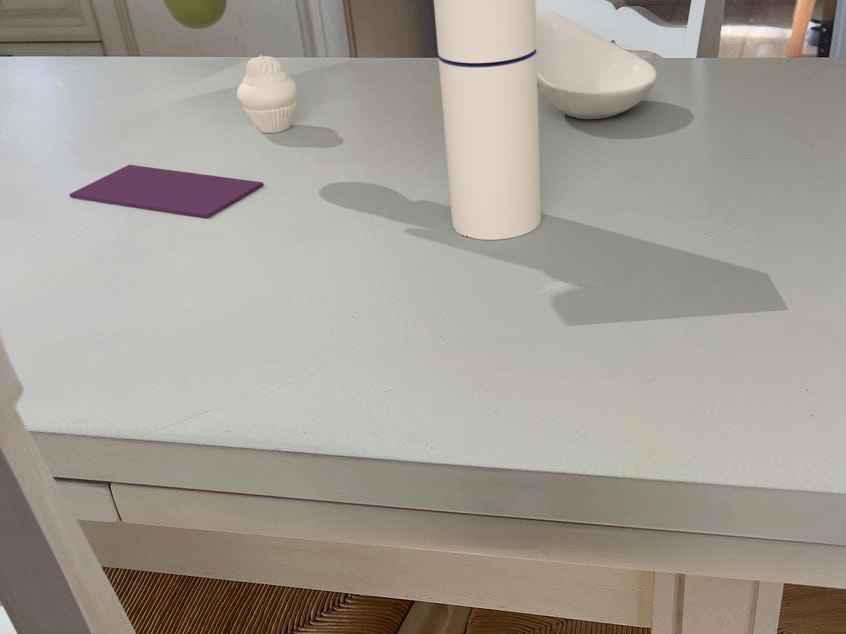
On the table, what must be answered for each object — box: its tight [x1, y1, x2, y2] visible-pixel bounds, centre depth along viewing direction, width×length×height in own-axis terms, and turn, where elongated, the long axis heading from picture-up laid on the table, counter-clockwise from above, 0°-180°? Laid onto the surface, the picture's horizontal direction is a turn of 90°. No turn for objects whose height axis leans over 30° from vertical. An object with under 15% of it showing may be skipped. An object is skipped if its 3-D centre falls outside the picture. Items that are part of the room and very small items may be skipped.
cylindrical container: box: [433, 0, 542, 241], centre depth 74 cm, size 7×7×25 cm
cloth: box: [69, 164, 264, 219], centre depth 92 cm, size 16×8×1 cm, turn 63°
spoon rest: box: [536, 9, 658, 120], centre depth 104 cm, size 24×12×7 cm, turn 28°
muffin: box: [236, 54, 299, 134], centre depth 102 cm, size 6×6×7 cm
